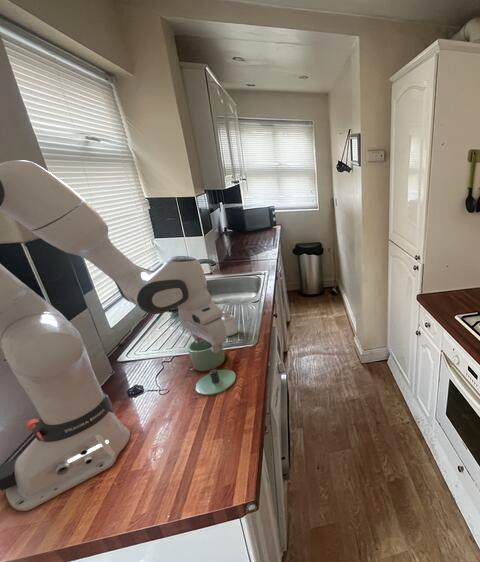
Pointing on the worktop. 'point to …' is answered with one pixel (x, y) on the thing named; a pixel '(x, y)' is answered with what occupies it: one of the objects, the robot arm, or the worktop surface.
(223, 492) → the worktop surface
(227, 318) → the eye dropper bottle
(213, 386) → the lid
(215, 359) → the pot
